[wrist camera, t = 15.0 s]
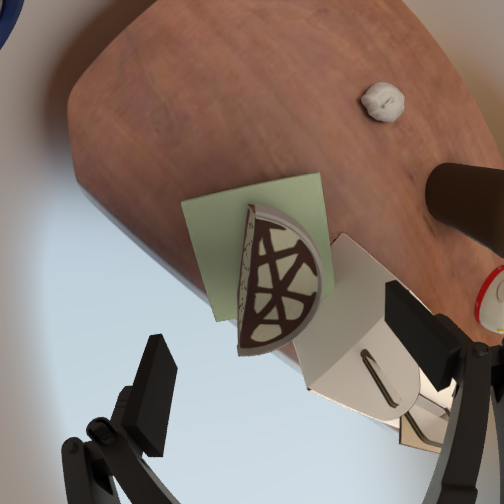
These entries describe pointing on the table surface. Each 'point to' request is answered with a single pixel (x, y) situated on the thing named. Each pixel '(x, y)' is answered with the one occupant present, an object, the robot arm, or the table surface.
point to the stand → (232, 228)
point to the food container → (275, 281)
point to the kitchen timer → (492, 302)
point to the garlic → (383, 102)
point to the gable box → (369, 354)
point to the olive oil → (469, 202)
